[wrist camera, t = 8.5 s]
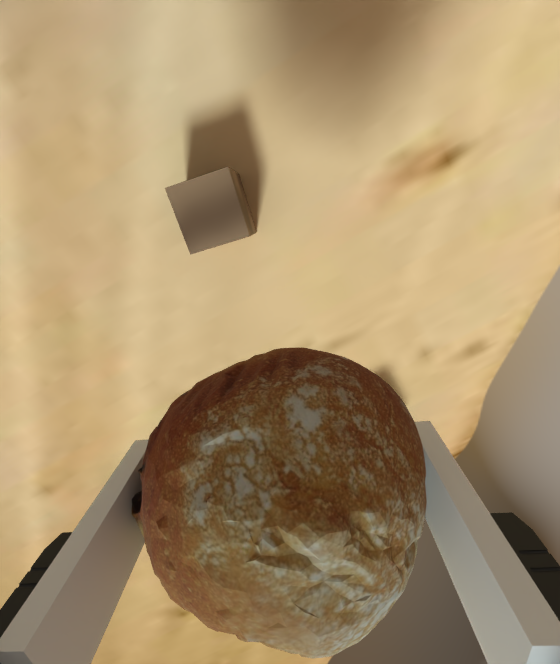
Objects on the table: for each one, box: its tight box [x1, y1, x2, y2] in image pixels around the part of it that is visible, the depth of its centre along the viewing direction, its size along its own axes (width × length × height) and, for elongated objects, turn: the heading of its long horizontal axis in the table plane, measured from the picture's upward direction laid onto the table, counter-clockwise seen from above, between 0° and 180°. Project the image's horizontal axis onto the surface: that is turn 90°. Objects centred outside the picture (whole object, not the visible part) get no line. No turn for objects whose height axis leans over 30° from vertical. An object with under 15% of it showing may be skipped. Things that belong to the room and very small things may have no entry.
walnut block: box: [165, 167, 256, 254], centre depth 26 cm, size 5×5×5 cm
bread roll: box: [131, 348, 427, 658], centre depth 11 cm, size 10×10×8 cm
